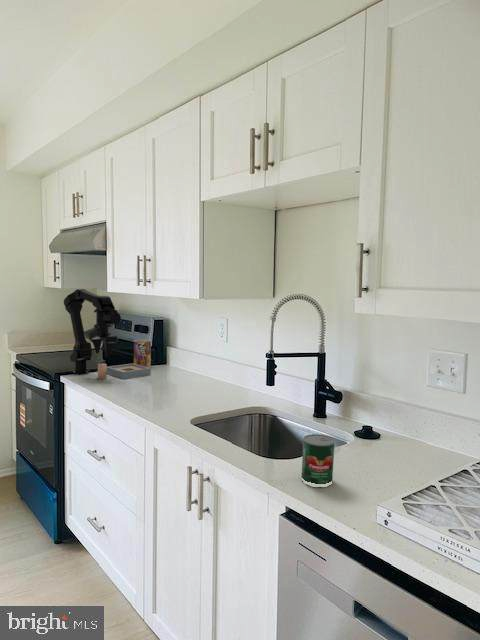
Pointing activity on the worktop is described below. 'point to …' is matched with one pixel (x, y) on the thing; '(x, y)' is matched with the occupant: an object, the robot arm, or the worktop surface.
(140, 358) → the candy box
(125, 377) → the bin
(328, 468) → the canned tomato
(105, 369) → the peg
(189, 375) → the worktop surface
